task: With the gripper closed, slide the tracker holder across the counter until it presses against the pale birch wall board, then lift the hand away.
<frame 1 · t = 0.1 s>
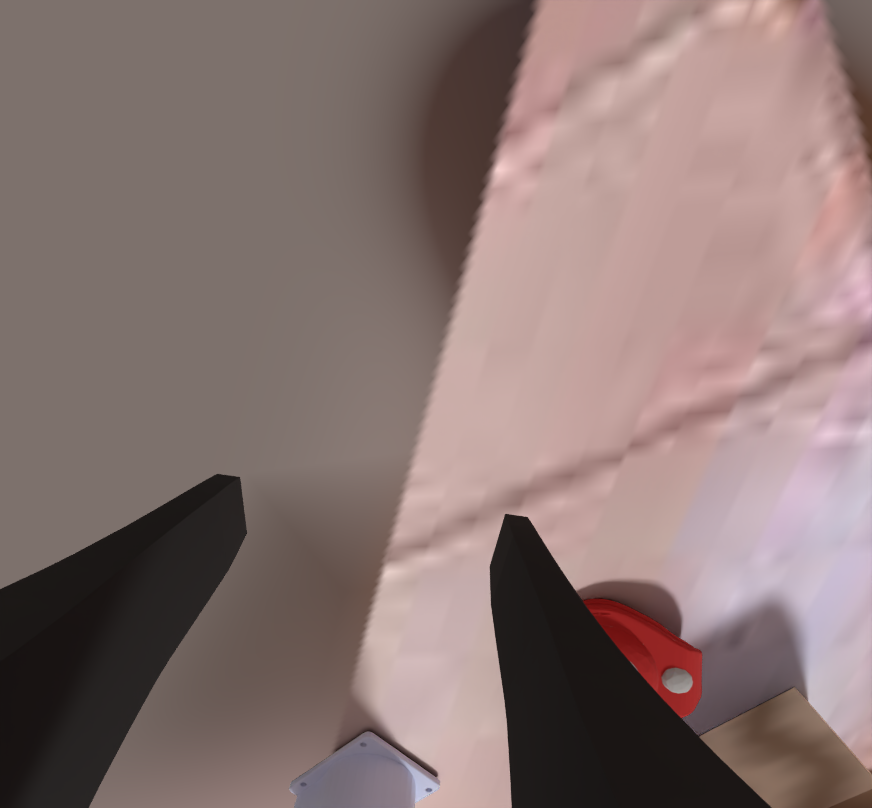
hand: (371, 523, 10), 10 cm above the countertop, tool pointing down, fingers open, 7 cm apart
tracker holder: (586, 655, 26), on the countertop
wall board: (677, 758, 28), on the countertop
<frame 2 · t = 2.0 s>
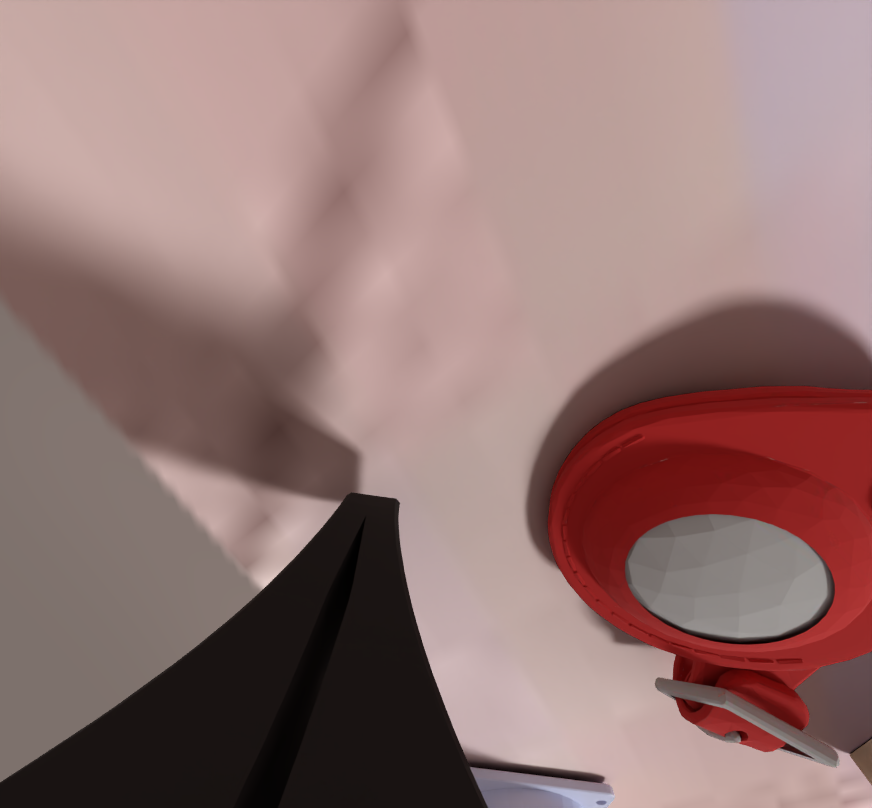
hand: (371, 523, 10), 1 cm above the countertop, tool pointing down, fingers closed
tracker holder: (680, 531, 12), on the countertop
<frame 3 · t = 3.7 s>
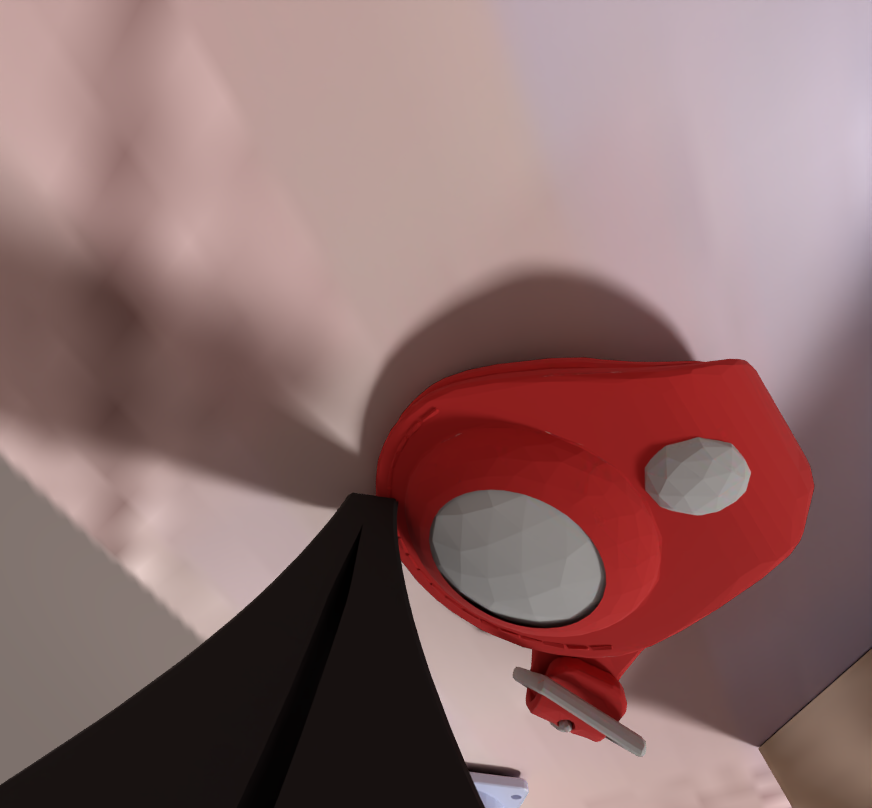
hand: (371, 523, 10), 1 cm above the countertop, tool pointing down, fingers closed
tracker holder: (530, 516, 12), on the countertop, touching gripper
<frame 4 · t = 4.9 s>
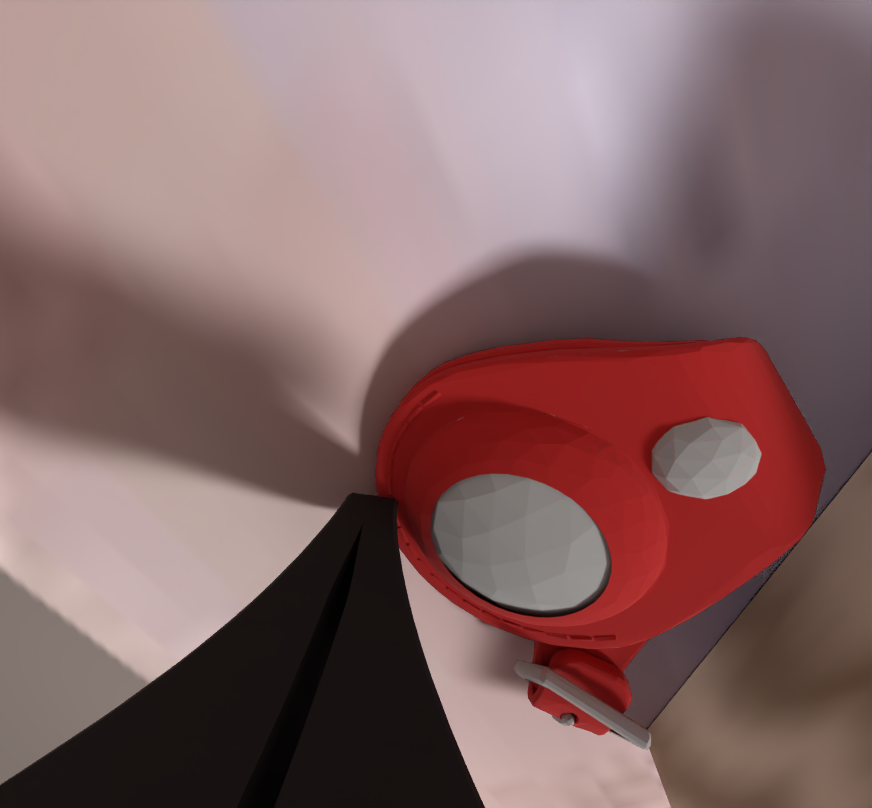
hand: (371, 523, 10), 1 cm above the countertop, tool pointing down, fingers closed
tracker holder: (533, 506, 11), on the countertop, touching gripper
wall board: (798, 584, 12), on the countertop
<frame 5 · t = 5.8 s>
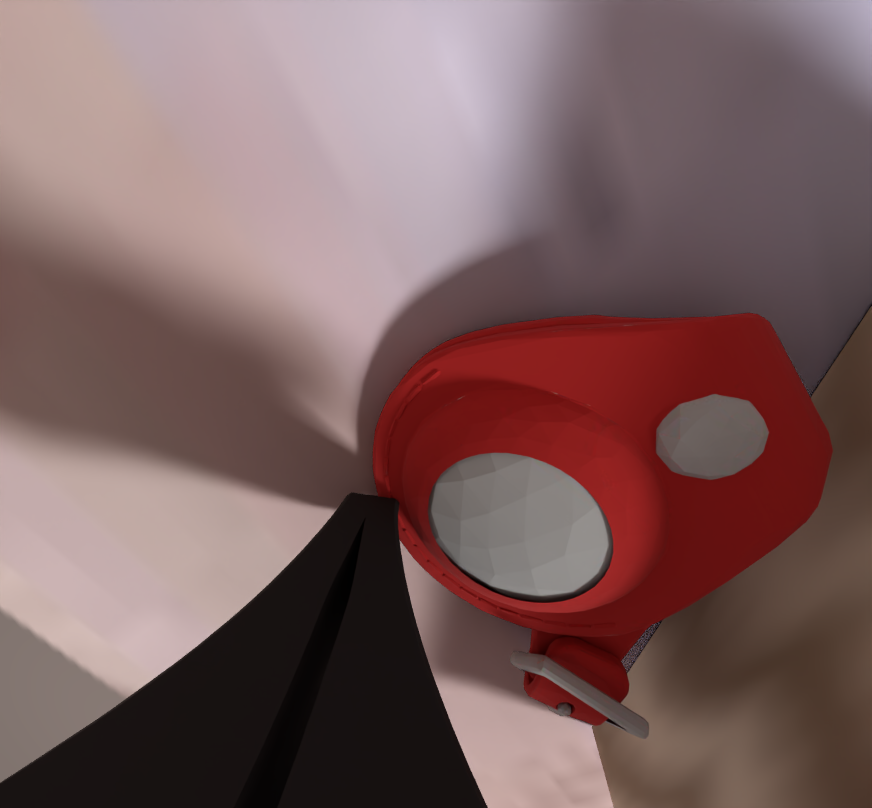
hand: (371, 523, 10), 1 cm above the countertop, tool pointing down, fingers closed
tracker holder: (531, 494, 11), on the countertop
wall board: (726, 574, 12), on the countertop
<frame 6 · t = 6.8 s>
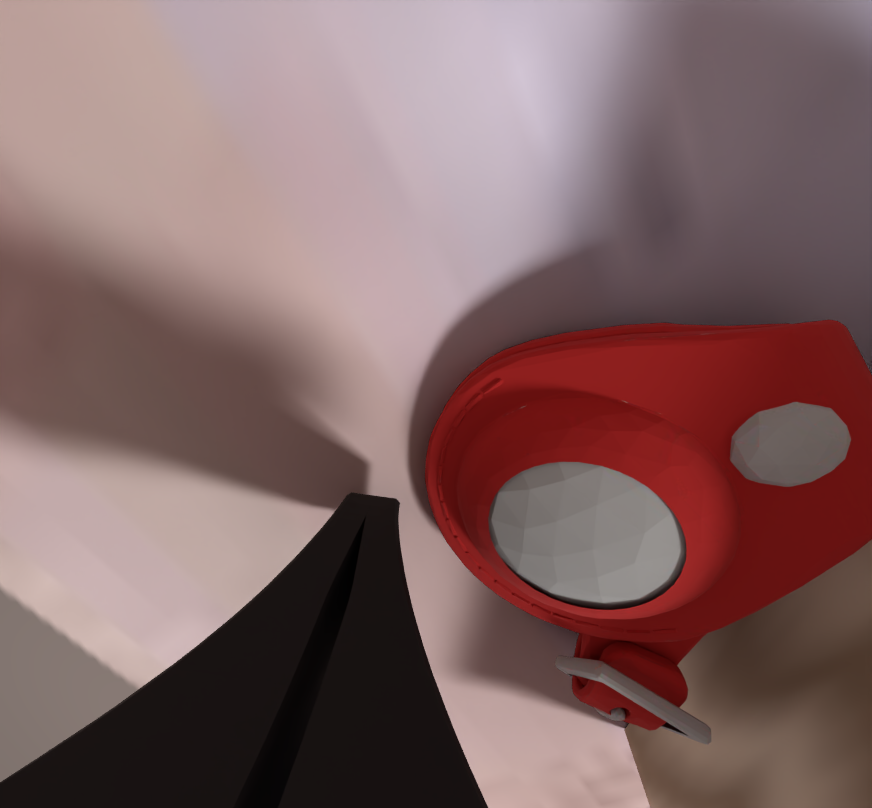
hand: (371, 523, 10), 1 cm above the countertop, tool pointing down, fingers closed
tracker holder: (578, 499, 11), on the countertop
wall board: (769, 577, 12), on the countertop
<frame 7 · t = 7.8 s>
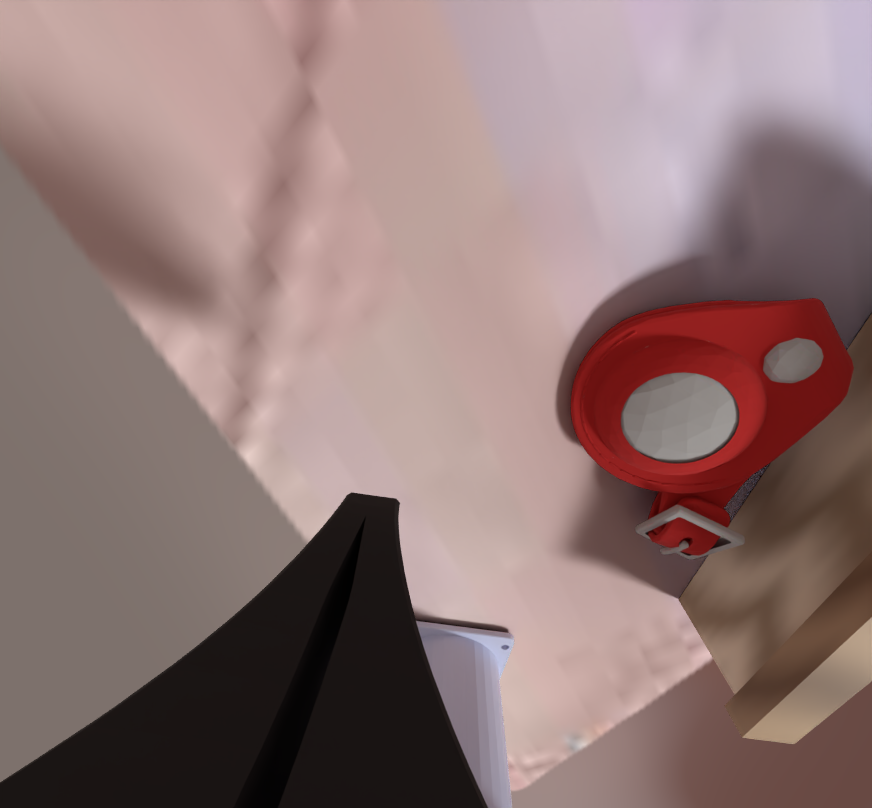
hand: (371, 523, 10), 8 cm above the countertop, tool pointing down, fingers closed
tracker holder: (656, 417, 18), on the countertop
wall board: (786, 471, 18), on the countertop
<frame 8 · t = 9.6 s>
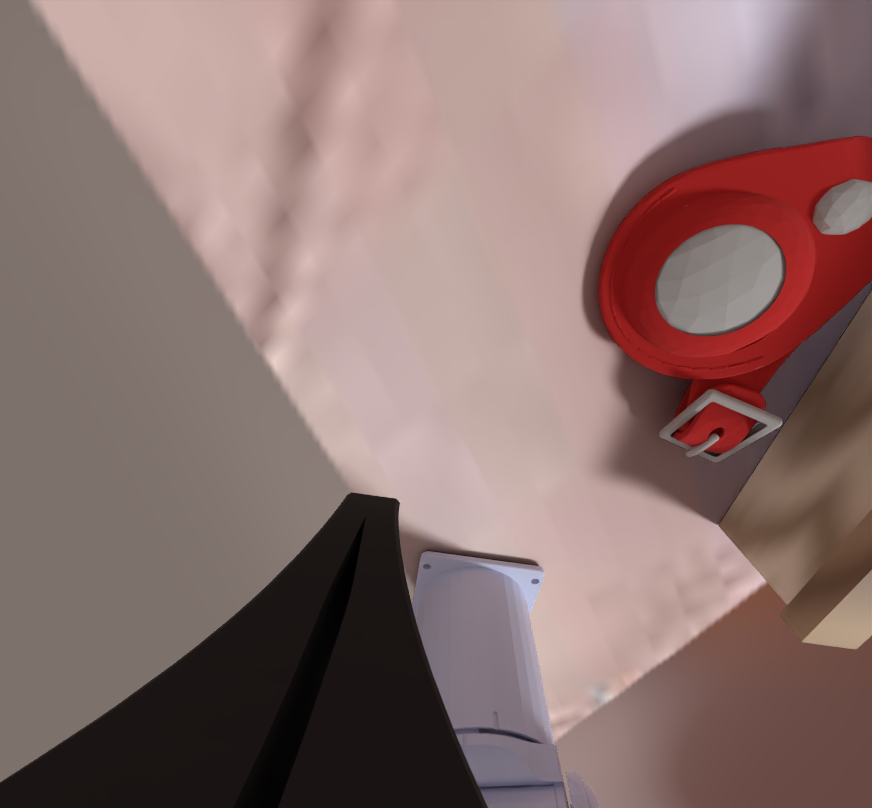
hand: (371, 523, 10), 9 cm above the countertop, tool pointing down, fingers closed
tracker holder: (686, 310, 17), on the countertop
wall board: (841, 370, 17), on the countertop
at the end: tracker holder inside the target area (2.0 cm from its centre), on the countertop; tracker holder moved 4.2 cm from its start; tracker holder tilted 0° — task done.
